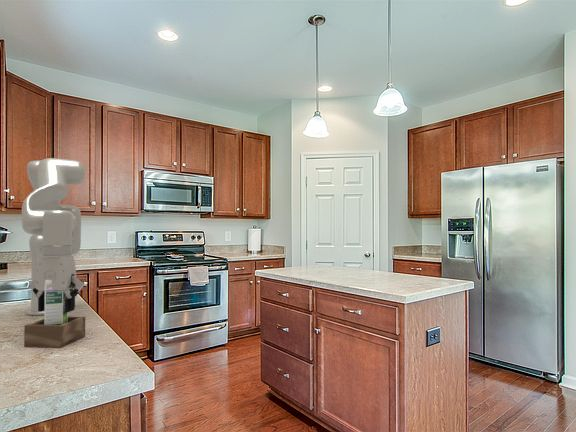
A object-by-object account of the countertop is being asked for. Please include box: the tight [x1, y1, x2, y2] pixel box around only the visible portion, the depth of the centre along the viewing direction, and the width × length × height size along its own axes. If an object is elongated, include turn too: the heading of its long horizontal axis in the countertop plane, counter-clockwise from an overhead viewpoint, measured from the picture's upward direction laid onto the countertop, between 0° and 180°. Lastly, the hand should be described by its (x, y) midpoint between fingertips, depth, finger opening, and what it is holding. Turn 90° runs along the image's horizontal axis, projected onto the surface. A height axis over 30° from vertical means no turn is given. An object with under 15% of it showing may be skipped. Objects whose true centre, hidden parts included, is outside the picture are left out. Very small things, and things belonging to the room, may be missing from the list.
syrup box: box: [43, 280, 69, 325], centre depth 110 cm, size 6×6×14 cm
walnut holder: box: [23, 315, 86, 349], centre depth 109 cm, size 11×11×6 cm
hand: (56, 310), depth 110 cm, fingers closed on syrup box, 7 cm apart
